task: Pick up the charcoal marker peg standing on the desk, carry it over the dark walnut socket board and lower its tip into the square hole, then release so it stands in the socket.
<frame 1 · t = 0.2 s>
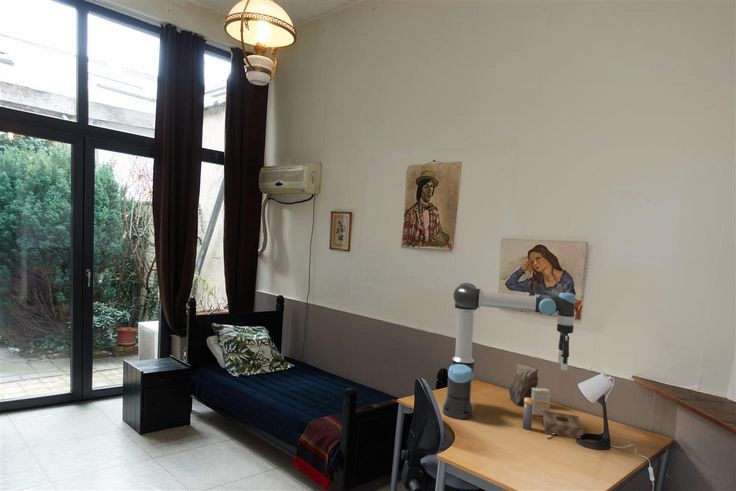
hand: (562, 366, 227), 27 cm above the table, fingers open, 13 cm apart
marker peg: (526, 428, 216), on the table
brown rock: (520, 403, 251), on the table
supplement box: (539, 414, 235), on the table
socket board: (561, 429, 217), on the table
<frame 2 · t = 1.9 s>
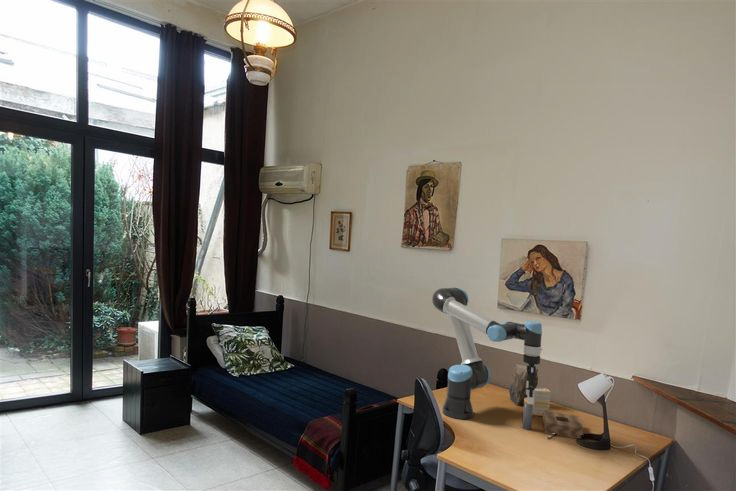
hand: (529, 399, 215), 14 cm above the table, fingers open, 13 cm apart
nothing on the table moved.
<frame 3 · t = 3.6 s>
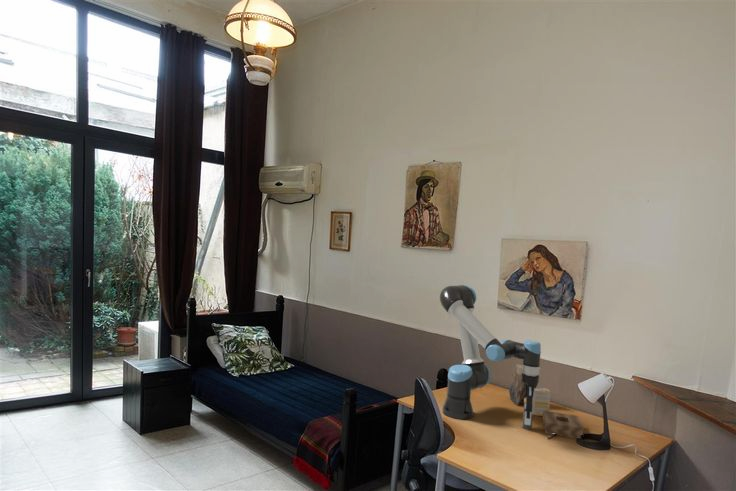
hand: (527, 422, 216), 3 cm above the table, fingers closed on marker peg, 4 cm apart
marker peg: (526, 428, 216), on the table, touching gripper
everything else where it was.
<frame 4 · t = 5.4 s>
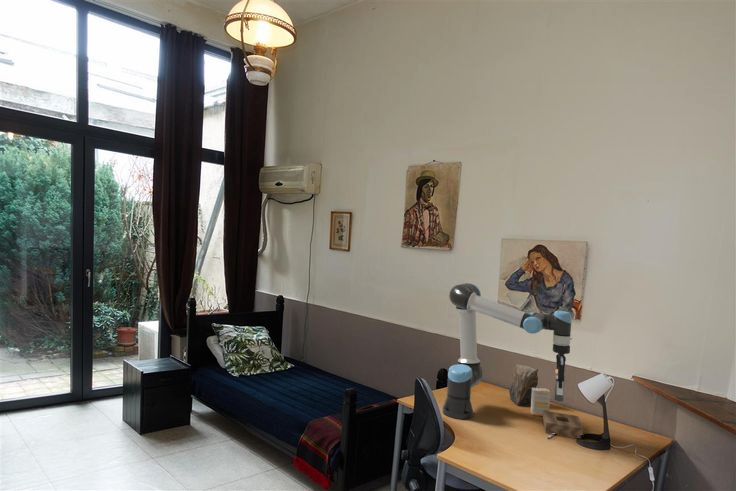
hand: (559, 393, 216), 18 cm above the table, fingers closed on marker peg, 4 cm apart
marker peg: (558, 399, 216), point 14 cm above the table, touching gripper
everything else where it was.
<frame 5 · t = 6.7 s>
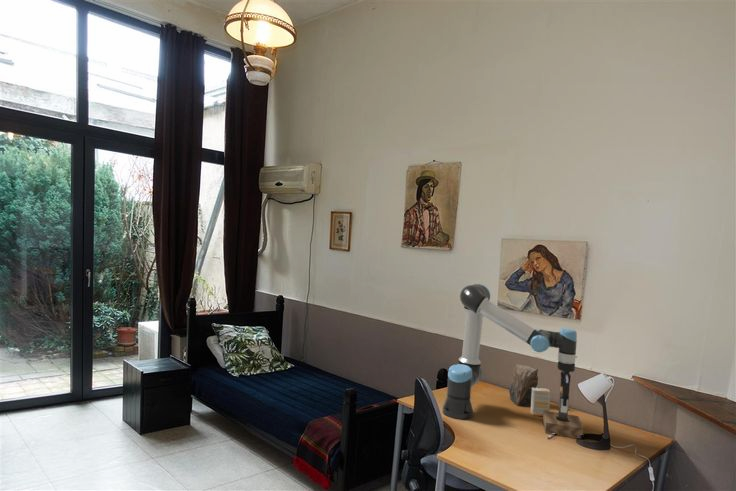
hand: (563, 410, 217), 9 cm above the table, fingers closed on marker peg, 4 cm apart
marker peg: (562, 417, 217), point 6 cm above the table, touching gripper
everything else where it was.
when the fingers open (6 cm above the table, at t = 7.4 s): marker peg drops 2 cm, resting in socket board.
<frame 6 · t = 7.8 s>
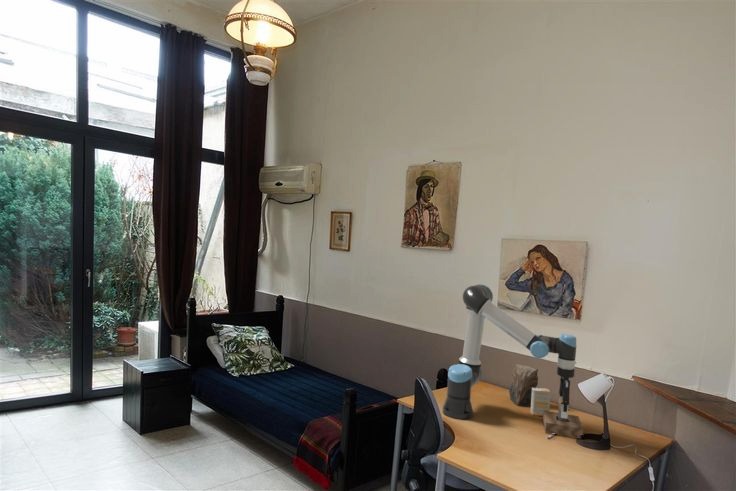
hand: (562, 413, 217), 7 cm above the table, fingers open, 10 cm apart
marker peg: (561, 429, 217), resting in socket board
everything else where it was.
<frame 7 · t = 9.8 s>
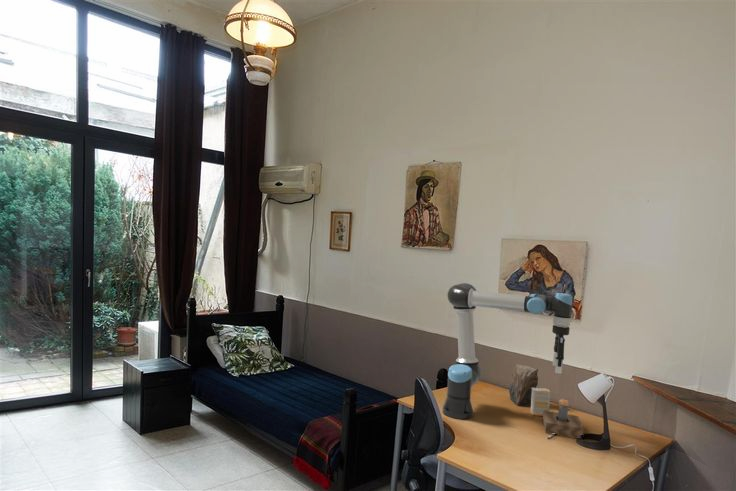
hand: (556, 369, 219), 28 cm above the table, fingers open, 13 cm apart
nothing on the table moved.
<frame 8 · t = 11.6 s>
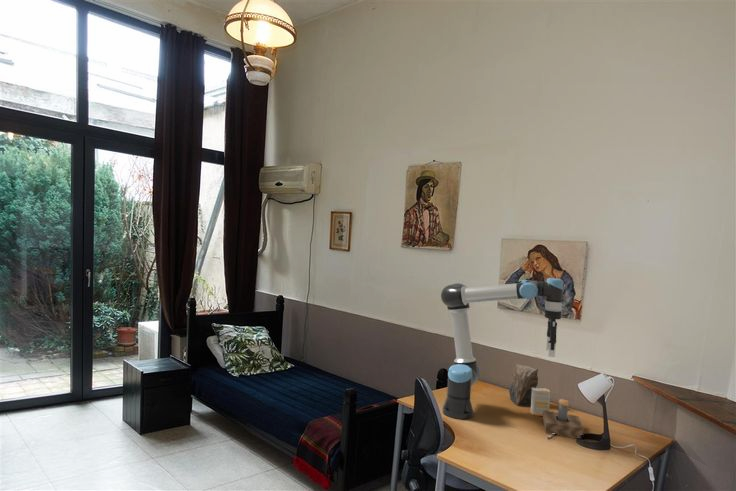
hand: (550, 353, 222), 35 cm above the table, fingers open, 13 cm apart
nothing on the table moved.
at the end: marker peg 0.2 cm off-centre on the socket board, point 0.0 cm above the socket board's base; marker peg tilted 0°; the gripper is holding nothing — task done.
